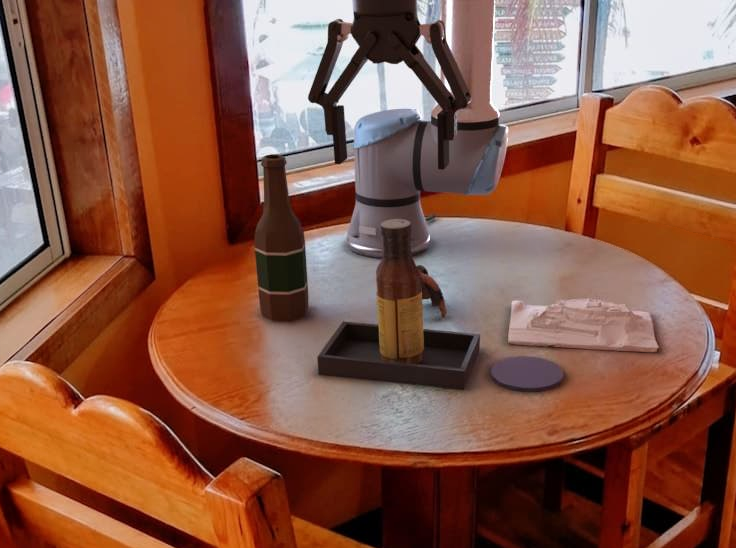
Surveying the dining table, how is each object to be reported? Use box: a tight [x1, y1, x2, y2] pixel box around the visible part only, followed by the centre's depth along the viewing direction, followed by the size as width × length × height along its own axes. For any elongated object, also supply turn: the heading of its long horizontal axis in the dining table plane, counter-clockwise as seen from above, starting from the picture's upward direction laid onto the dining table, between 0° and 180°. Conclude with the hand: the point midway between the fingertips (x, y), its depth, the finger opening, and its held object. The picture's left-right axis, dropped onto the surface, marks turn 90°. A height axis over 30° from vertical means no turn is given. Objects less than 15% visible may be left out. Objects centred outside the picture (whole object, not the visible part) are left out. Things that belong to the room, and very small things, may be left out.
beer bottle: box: [254, 153, 309, 322], centre depth 148 cm, size 8×8×24 cm
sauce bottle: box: [375, 219, 424, 364], centre depth 134 cm, size 7×6×20 cm
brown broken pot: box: [416, 264, 448, 319], centre depth 154 cm, size 12×10×8 cm
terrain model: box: [507, 297, 660, 353], centre depth 148 cm, size 17×23×5 cm
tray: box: [316, 320, 481, 391], centre depth 139 cm, size 13×21×3 cm, turn 77°
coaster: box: [490, 355, 564, 393], centre depth 136 cm, size 10×10×1 cm
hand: (391, 164), depth 124 cm, fingers open, 13 cm apart
